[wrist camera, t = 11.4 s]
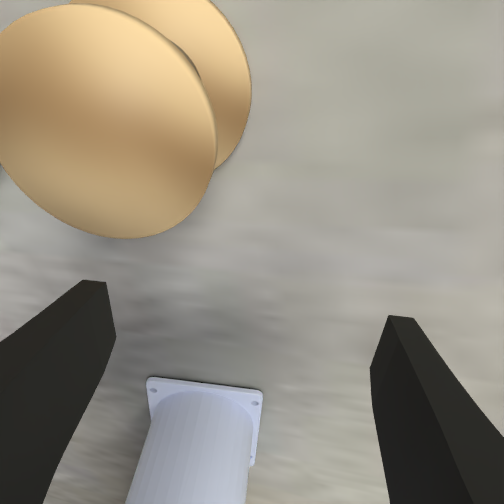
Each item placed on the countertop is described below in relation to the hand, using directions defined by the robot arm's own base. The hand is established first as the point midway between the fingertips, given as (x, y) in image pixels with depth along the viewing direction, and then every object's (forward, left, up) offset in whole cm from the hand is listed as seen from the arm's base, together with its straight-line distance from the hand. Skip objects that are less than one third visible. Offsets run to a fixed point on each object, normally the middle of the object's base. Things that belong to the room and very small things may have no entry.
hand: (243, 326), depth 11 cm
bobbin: (+3, +5, -10) cm, 11 cm away
